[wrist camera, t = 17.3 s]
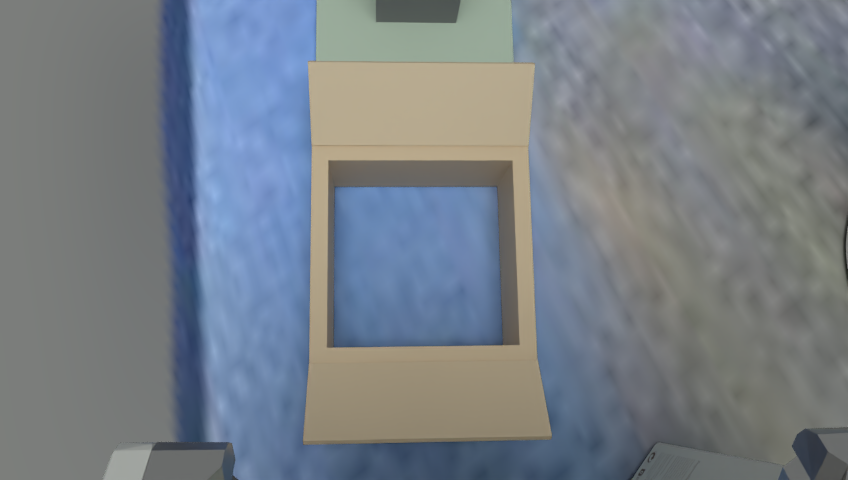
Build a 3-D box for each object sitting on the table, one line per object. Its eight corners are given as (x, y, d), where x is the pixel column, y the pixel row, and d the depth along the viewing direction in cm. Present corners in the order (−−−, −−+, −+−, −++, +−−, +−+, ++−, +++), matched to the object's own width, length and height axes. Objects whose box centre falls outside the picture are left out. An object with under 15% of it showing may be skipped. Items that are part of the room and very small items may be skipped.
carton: (508, 115, 43) (534, 60, 36) (521, 430, 40) (552, 439, 33) (320, 114, 42) (308, 58, 35) (317, 433, 39) (302, 445, 32)
